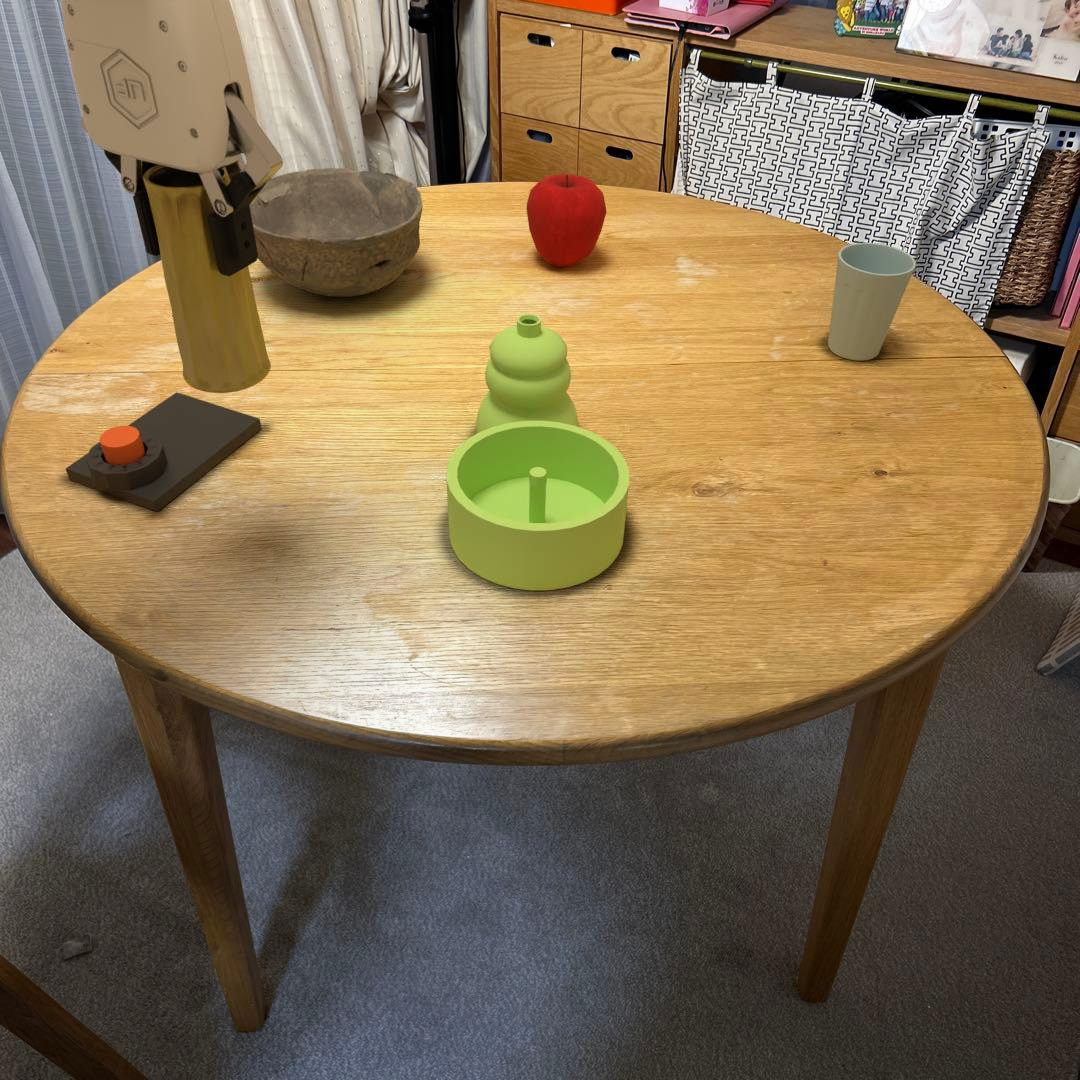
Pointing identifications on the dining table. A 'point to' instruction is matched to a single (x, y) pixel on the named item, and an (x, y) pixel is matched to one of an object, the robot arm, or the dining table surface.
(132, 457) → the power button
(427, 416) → the dining table surface
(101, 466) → the button base plate
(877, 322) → the cup
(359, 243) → the bowl
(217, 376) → the vase
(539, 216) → the apple
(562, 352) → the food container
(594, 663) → the dining table surface
